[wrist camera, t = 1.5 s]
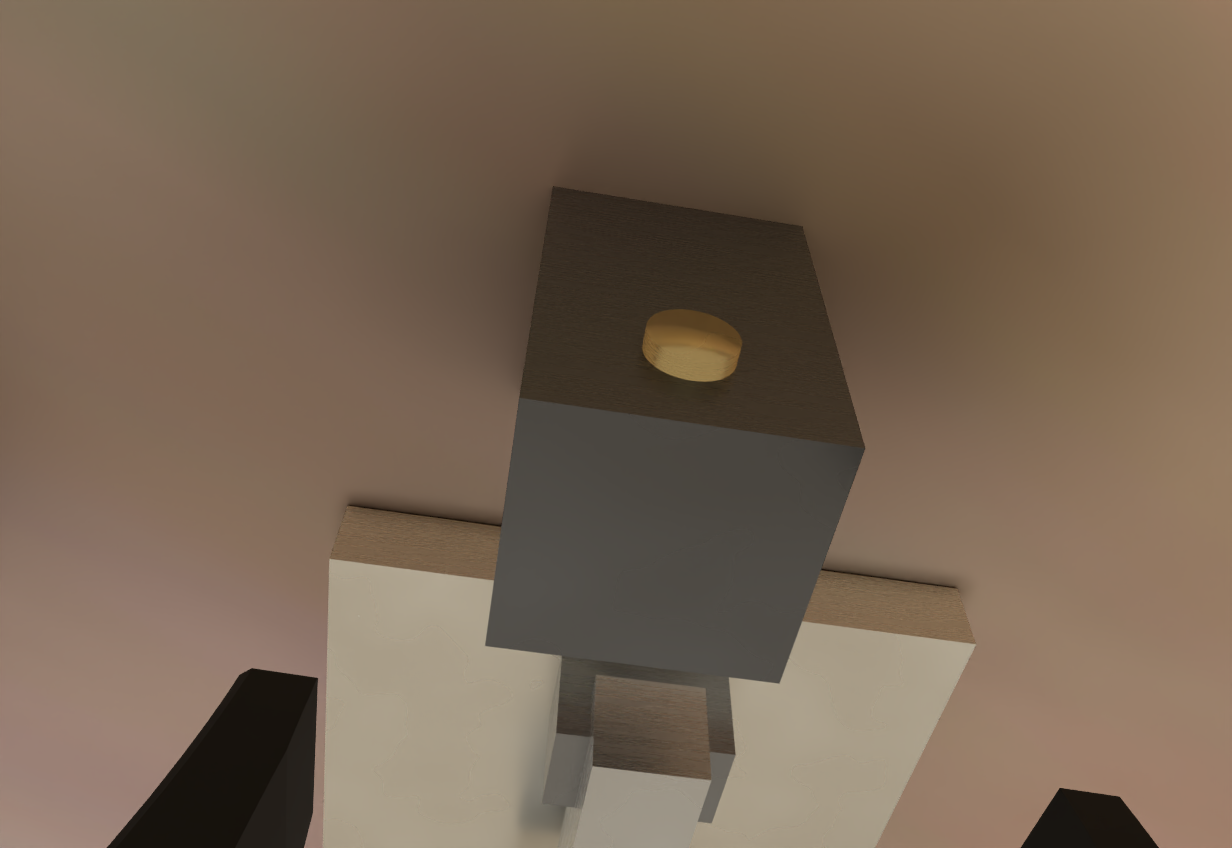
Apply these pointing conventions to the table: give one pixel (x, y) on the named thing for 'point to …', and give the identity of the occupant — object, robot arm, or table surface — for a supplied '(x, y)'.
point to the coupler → (672, 443)
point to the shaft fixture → (611, 714)
